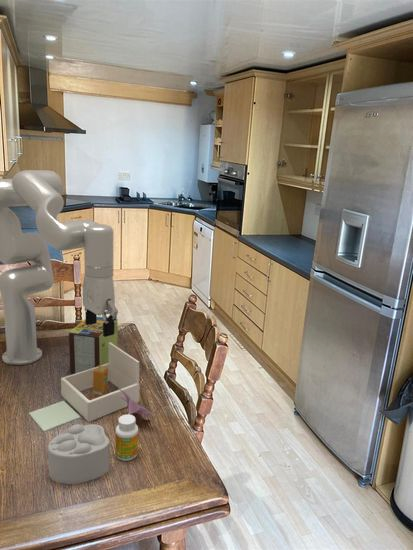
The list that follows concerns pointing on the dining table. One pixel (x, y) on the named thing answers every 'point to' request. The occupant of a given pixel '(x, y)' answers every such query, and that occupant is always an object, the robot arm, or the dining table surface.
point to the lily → (134, 406)
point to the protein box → (90, 345)
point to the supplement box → (100, 381)
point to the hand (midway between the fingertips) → (99, 329)
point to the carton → (119, 373)
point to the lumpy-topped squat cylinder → (79, 454)
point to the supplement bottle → (126, 438)
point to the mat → (54, 416)
